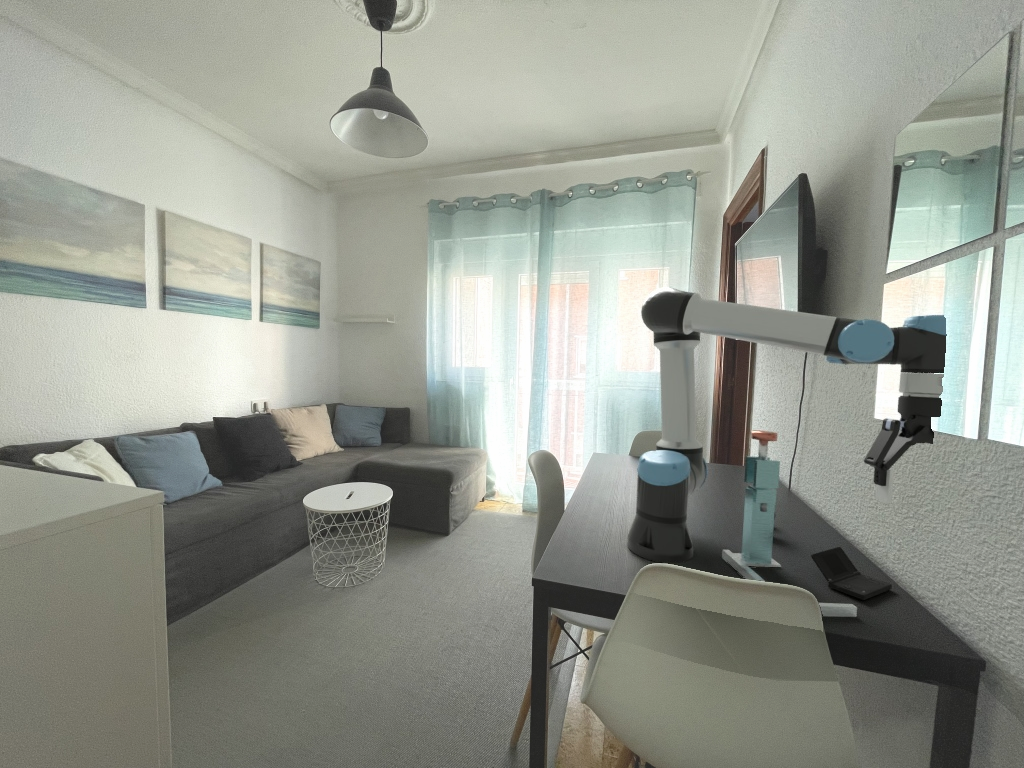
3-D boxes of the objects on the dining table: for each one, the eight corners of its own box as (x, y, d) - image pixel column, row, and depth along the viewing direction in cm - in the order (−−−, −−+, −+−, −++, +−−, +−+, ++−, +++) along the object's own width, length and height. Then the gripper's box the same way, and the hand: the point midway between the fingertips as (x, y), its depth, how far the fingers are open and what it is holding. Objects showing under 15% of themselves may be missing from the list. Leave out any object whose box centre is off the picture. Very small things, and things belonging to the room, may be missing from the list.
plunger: (757, 467, 88) (759, 433, 88) (744, 462, 93) (746, 429, 93) (780, 468, 88) (782, 434, 88) (766, 463, 93) (768, 430, 93)
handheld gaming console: (856, 610, 77) (865, 597, 76) (802, 566, 86) (810, 554, 84) (885, 598, 81) (894, 585, 80) (831, 557, 90) (839, 545, 89)
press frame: (783, 615, 72) (792, 483, 71) (719, 555, 94) (725, 455, 93) (856, 618, 72) (866, 486, 71) (775, 557, 94) (781, 457, 93)
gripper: (879, 394, 74) (871, 507, 75) (1012, 399, 75) (1002, 511, 75) (846, 392, 82) (838, 494, 83) (966, 396, 82) (958, 498, 83)
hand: (916, 503), depth 79 cm, fingers open, 13 cm apart
